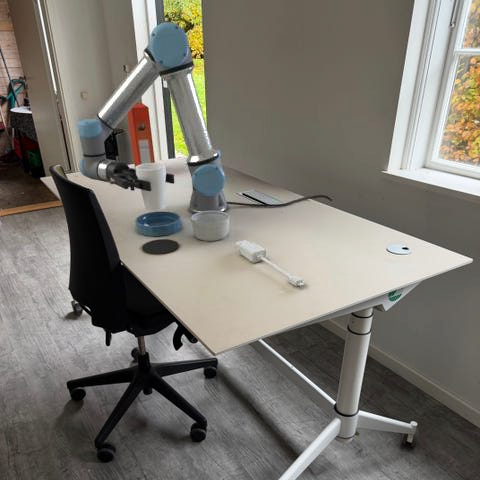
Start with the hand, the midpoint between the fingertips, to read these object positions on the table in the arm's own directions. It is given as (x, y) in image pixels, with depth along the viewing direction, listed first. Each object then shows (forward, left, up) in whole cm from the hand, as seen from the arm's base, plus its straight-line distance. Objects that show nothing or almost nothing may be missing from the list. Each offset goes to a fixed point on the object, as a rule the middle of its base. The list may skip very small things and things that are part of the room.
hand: (161, 182), depth 146 cm
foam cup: (+3, -3, -9) cm, 10 cm away
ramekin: (-14, -7, -21) cm, 27 cm away
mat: (+3, +1, -21) cm, 21 cm away
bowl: (+5, -16, -21) cm, 27 cm away
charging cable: (-31, +20, -21) cm, 43 cm away
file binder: (+19, -95, -21) cm, 99 cm away
